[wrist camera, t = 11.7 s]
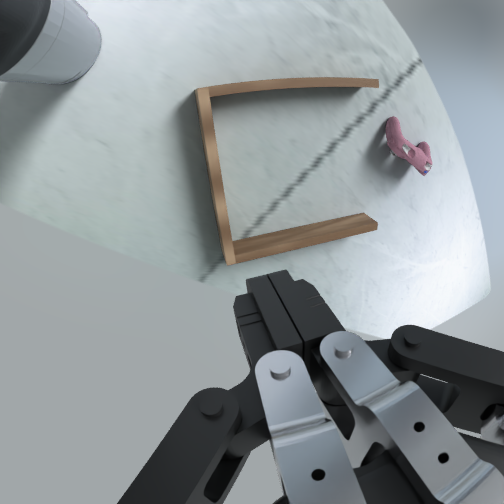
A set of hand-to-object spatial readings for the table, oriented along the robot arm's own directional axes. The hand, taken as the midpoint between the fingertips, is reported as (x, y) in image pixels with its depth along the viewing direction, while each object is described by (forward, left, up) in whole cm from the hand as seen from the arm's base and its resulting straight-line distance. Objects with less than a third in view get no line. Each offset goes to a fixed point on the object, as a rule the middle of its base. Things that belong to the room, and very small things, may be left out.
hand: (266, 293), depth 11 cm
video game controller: (+2, +31, -29) cm, 43 cm away
